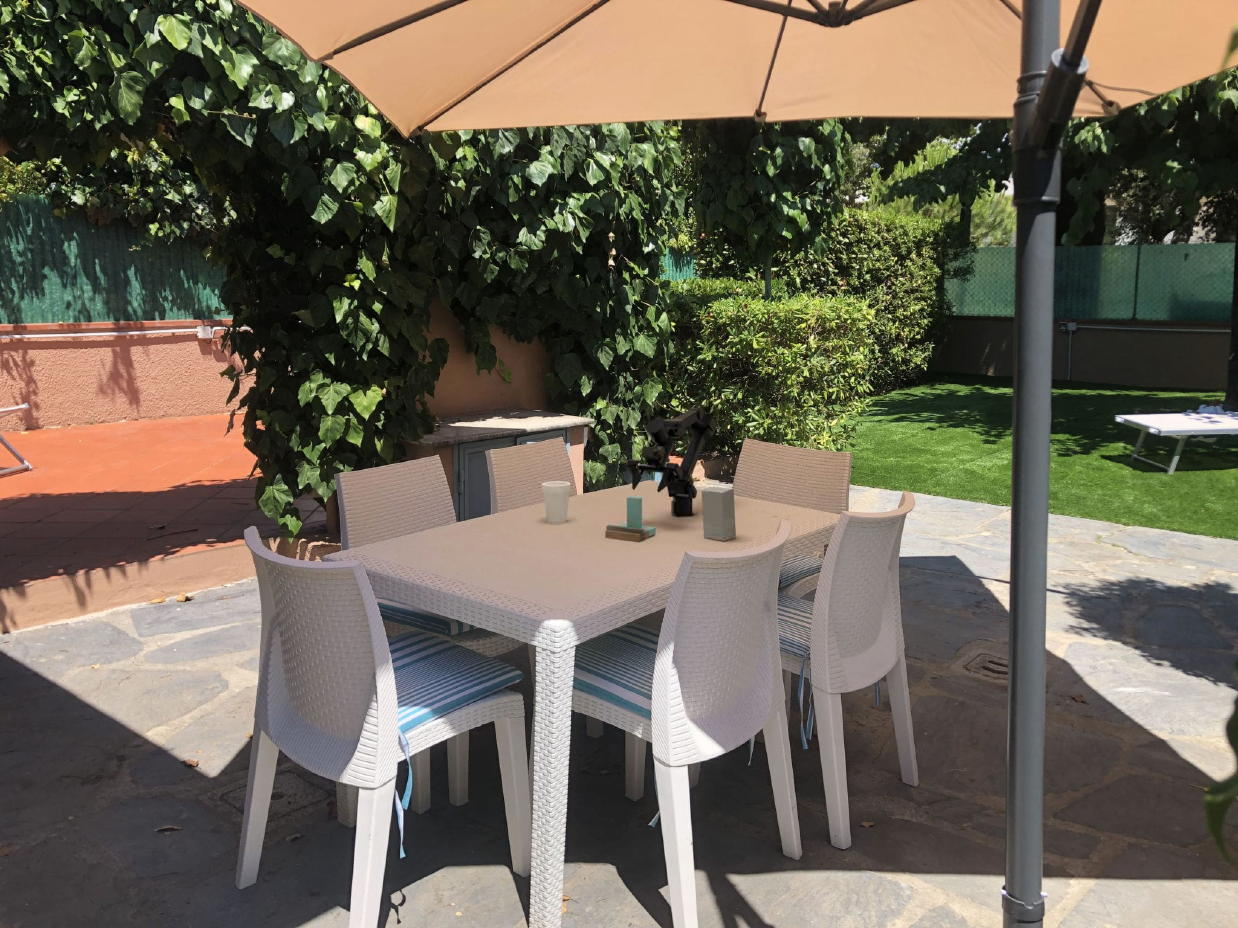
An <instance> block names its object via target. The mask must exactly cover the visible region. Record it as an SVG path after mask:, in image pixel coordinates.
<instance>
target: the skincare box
mask: <svg viewBox="0 0 1238 928" xmlns="http://www.w3.org/2000/svg"><path fill="white" fill-rule="evenodd" d="M734 493H735V491H734V488H728V487H719V486H718V487H717V486H712V487H709V488H705V489H702V490H701V504H702V506H701V507H702V525H703V527H702V528H703V538H704V539H708V538H710V539H709V540H715V541H720V542H726V541H729V540H732V538H733V539H735V538H736V536H737V531H736V528H737V527H736V510H735V509H736V508H735V494H734Z"/></svg>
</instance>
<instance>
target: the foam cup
mask: <svg viewBox="0 0 1238 928" xmlns="http://www.w3.org/2000/svg"><path fill="white" fill-rule="evenodd" d="M541 491H542V495H543V501H544V507H545V513H546V514H545V515H546V520H547V521H546V522H547V523H548V524H554V525H555V524H563V523H564V524H565V523H566V522H567V517H568V509H569V499H570V492H571V483H570V481H569V482H568V481H563V480H562V481H561V480H559V481H557V480H553V481H547V482H546V481H545V482H542V483H541Z"/></svg>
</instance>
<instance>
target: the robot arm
mask: <svg viewBox="0 0 1238 928" xmlns="http://www.w3.org/2000/svg"><path fill="white" fill-rule="evenodd" d="M645 425H646V426H645V431H646V432H647V434H648V436H649V438H650V439H651V441H652V442H653V443H655V444H654V447H653V446H642V449H641V453H640V457H642V458H644V463H646V464H644V463H643V464H642V462H641V460H639V459H628V460H626V461H627V462H626V464H625V467H626V468H627V470H628V471H629V474H630V475H632V476H631V478H632V479H631V480H632V481H631V482H632V484H631V489H632V491H635V490H636V488H637V487H638V485H639V483H640V482H641V480H642V478H643V476H642V475H644V472H650V473H651V472H653V473H657V474H662V476H661V477H662V478H661V479H660V482H659V484H658V485H657V486H658V487H657V490H656V491H657V493H660V492H662V491H663V490H664V489H665V488H666V487H667V495H668V497H669V498H672V500H671V508H670V509H671V510H670V513H671V514H672V515H674V516H675V517H688V516H689V517H690V516H695V513H693V502H694V501H693V499H696V497H697V495H698V490H697V488H696V486H695V484H694V483H695V481H694V477H693V473H694V471H695V469H696V465H697V463H698V461H699V457H700V455H701V454H702V453H701V452H702V450H703V448H704V445H705V443H706V442H708V440H710V439H712V437H713V436H714V433H715V432H716V429H717V422H716V420H715V419H714V417H712V415H710V414H708V413H706V412H705V411H704V409H702V408H698V407H697V408H696V407H690V408H688V409H687V411H685V412H683V413H681V414H680V415H678V416H677V417H675V418H667V419H663V418H662V417H659V416H658V417H657V416H656V417H655V418H654V419H653V420H651V421H649V422H647V424H645ZM689 427H690V432H691V438H690V441H689V444H688V446H687V448H686V451H685V453H684V456H683V458H682V461H681V462H680V465H679V463H677V462H670V461H671V460H670V458H669V457H670V456H671V453H672V451H673V450H676V444H675V441H674V439H679V438H681V437H682V436H683V435H684V434H685V430H686V429H687V428H689ZM673 438H674V439H673Z"/></svg>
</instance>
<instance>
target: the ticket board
mask: <svg viewBox="0 0 1238 928" xmlns="http://www.w3.org/2000/svg"><path fill="white" fill-rule="evenodd" d="M605 529H606V530H605V532H604V534H605V539H611V540H612V539H613V540H620V541H627V542H636V543H640V542H642V541H644V540H647V539H649V538H650V536H649V531H648V530H644V529H638V528H630V527H622V526H618V525H613V524H612V525H611V524H608V525H606V527H605ZM646 538H647V539H646Z"/></svg>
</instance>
